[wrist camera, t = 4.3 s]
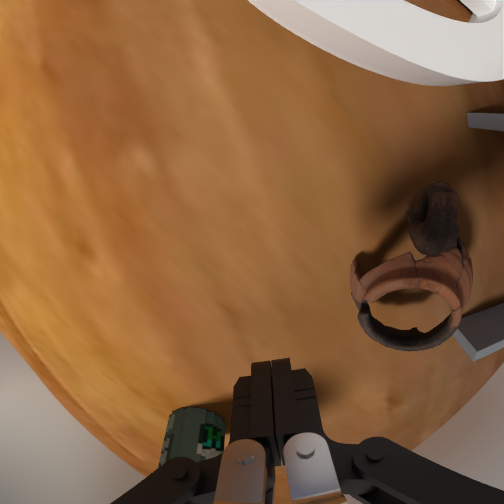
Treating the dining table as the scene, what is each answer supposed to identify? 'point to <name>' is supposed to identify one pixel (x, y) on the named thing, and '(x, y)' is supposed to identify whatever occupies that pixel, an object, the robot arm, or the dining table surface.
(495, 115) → the box
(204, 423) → the can
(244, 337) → the dining table surface
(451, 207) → the pottery mug
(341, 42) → the white circle with bar
